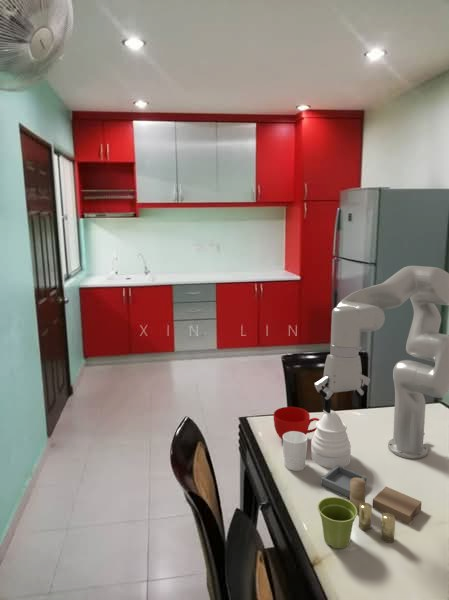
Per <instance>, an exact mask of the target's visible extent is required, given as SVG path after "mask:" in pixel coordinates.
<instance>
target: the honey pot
mask: <svg viewBox="0 0 449 600" xmlns="http://www.w3.org/2000/svg"><path fill="white" fill-rule="evenodd" d="M322 411H323V413H324V414H323V416H321V419H319V421H316V423H315V428H317V429H316V430H315V431H314V432H313V433H314V434H313V435H312V436H313V437H312V439H311V442H310V443H311V444H310V445H311V446H310V457H311V460H312V461H313V462H314V463H315V464H317V465H319V466H322V467H324V468H328V467H329V468H328V469H330V468H331V469H333V468H334V467H336V466H337V465H339V466H342V467H344V468H345V467H346V466H348V465H349V464H350V461H351V454H352V453H351V448H352V447H351V441H350V440H349V439H350V438H349V437H348V433H347V428H348V427H347V425H346V423H345V422H343V421H342V419H341V417H340V416H339V414H338V413H337V412H336V411H334V410H333V409H331V412H330V413H327V412H326V411H324V410H323V409H322Z"/></svg>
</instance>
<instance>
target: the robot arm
mask: <svg viewBox="0 0 449 600" xmlns="http://www.w3.org/2000/svg"><path fill="white" fill-rule="evenodd" d="M407 300H410V302H411V305H412V308H413V318H412V322H411V325H410V329H409V333H408V335H407V336H408V337H407V340H406V344H405V345H406V346H405V350H406V353H407V354H408V355H410V356H411V357H414V358H416V359H421V360H425V361H429V362H433V363H434V366H433V365H431V364H426V363H423V362H419V361H415V360H411V359H404V360H400V361H397V362H396V364H395V365H394V367H393V370H392V379H393V384H394V413H393V416H394V419H393V436H392V437H393V438H391V439H390V440H388V443H387V447H388V450H389V451H391V453H393V454H394V455H396V456H399V457H402V458H406V459H412V460H413V459H414V460H418V459H423V458H425V457H426V456H427V455H428V453H429V449H428V447H427V445H426V444H424V438H425V437H424V436H425V435H426V433H425V419H426V406H427V405H426V399H425V396H424V395H426V396H429V397H432V398H438V399H441V398H443V397H445V396H446V395H447V394H448V392H449V334H445V333H440V332H439V331H440V328H441V323H442V316H441V314H440V311H439V309H438V307H437V306H436V305H442V306H447V307H448V306H449V272H447V271H446V270H444V269H442V268H440V267H435V266H423V265H407V266H405V267H403V268H401V269H399V270H397V272H395V273H394V274H393V275H392V276H390V277H389V278H387V279H386V280H385V281H383V282H382V283H379V284H375V285H371V286H367V287H365V288H362V289H359V290H356V291H354V292H352V293H350V294H349V295H347V296H345V297H344V298H342V299H341V300H340V302H338V303H337V304H336V306H335V307H334V308H333V309H332V311H331V326H330V328H331V329H330V350H329V351H330V353H329V354H327V355H326V359H325V363H324V369H323V376H322V378H321V379H319V380H318V381H316V382H314V387H315V389H316V392H317V393H318V394H319V395H320V397H322V402H321V407H322V411H323V410H324V411H326V412H327V413H330V412H331V410H332V399H331V396H332V395H333V394H334V393H341V392H349V391H352V398H351V399H352V401H351V402H352V404H351V405H352V406H354V408H356V409H358V410H359V409H361V407H362V396H363V395H364V394H365V391H366V390H367V389H368V386H369V384H370V383H371V378H369V377H367V376H366V375H364V374H363V373H362V372H363V370H362V359H361V355H359V352H360V351H362V349H363V347H362V346H361V345H359V344H360V333H361V332H366V333H367V332H368V333H369V332H375V331H377V330H379V329H381V328H382V327H383V326H384V323H385V322H386V315H385V312H384V310H388V309H395V308H398V307H400V306H402V305H403V304H404V303H405V302H407ZM322 387H323V388H324V389H323V388H322ZM324 411H323V412H324Z"/></svg>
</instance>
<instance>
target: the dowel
mask: <svg viewBox="0 0 449 600" xmlns="http://www.w3.org/2000/svg"><path fill="white" fill-rule="evenodd" d="M366 485H367V481H366V482H365V481H364V480H363V479H361V478H352V479H351V480H350V499H349V501H350V502H351V503H353V505H355V507H356V509H357V514H359V505H360V503H363V502H365V503H366V487H367V486H366Z"/></svg>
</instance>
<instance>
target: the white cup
mask: <svg viewBox="0 0 449 600" xmlns="http://www.w3.org/2000/svg"><path fill="white" fill-rule="evenodd" d="M282 447H283V448H282V451H283V459H284V466H285V468H286V469H287V470H290V471H293V472H295V471H296V472H300V471H302V470H304V469H305V468H306V462H307V460H306V459H307V451H308V450H307V449H308V436H307V434H306V435H305V434H304V433H301V432H297V431H290V432H286V433H285V434H284V435H283V440H282Z"/></svg>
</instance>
